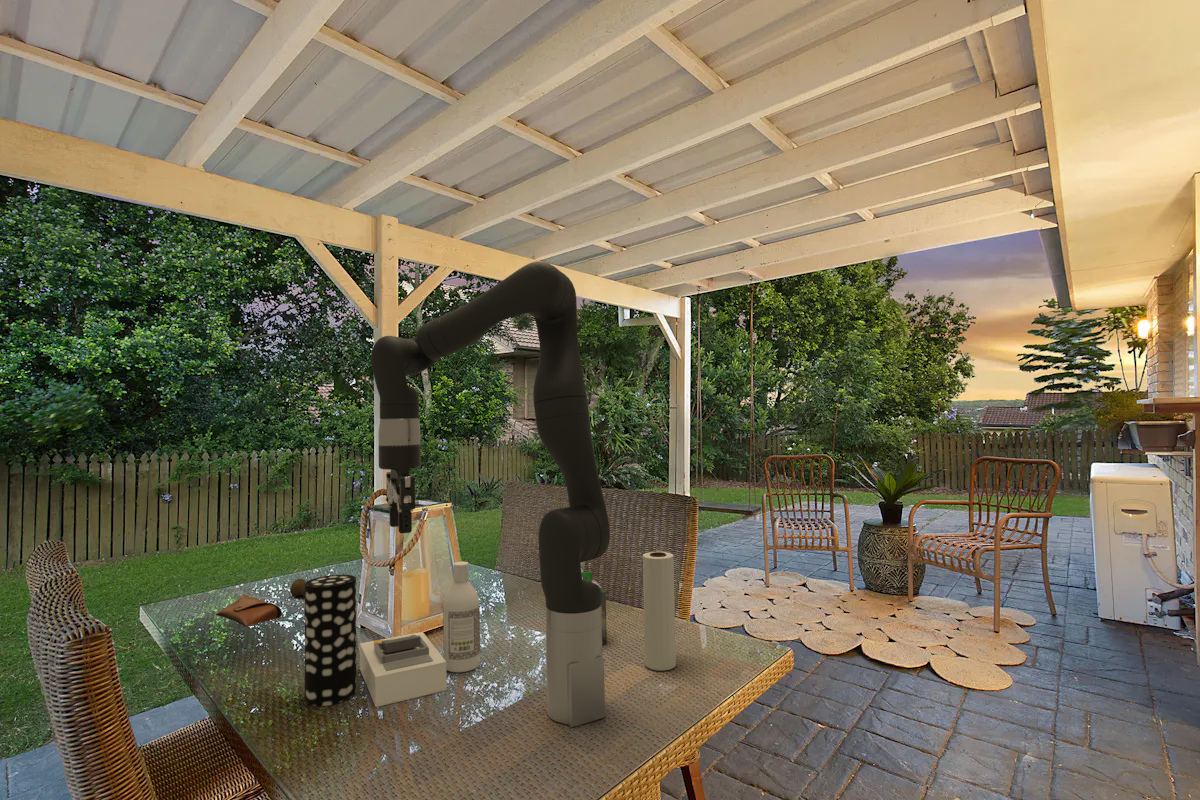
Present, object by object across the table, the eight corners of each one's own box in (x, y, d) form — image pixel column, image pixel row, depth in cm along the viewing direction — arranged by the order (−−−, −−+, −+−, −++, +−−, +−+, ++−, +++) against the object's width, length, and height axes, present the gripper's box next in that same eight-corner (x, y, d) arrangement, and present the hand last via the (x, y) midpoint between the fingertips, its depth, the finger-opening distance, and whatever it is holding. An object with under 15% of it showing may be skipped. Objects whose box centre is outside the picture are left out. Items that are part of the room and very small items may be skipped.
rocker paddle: (420, 646, 111) (420, 636, 112) (386, 652, 108) (386, 643, 109) (414, 643, 115) (414, 634, 116) (382, 649, 112) (381, 640, 113)
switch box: (446, 690, 107) (446, 654, 107) (375, 707, 101) (375, 669, 101) (422, 656, 123) (422, 625, 123) (360, 669, 117) (359, 637, 117)
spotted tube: (300, 709, 101) (300, 588, 101) (310, 688, 109) (309, 576, 109) (353, 702, 103) (353, 584, 104) (359, 682, 111) (358, 572, 112)
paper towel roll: (665, 674, 112) (663, 558, 113) (638, 666, 116) (636, 555, 116) (684, 661, 118) (682, 551, 118) (658, 654, 121) (656, 548, 122)
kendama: (311, 593, 173) (365, 598, 165) (282, 604, 164) (337, 609, 156) (310, 572, 173) (364, 576, 165) (281, 582, 164) (336, 586, 156)
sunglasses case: (211, 614, 153) (226, 588, 156) (237, 621, 158) (250, 596, 161) (247, 627, 143) (261, 598, 146) (272, 634, 148) (286, 607, 151)
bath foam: (486, 666, 117) (485, 563, 118) (453, 676, 113) (452, 569, 113) (470, 656, 122) (469, 557, 123) (437, 665, 118) (437, 562, 119)
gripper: (429, 443, 109) (429, 533, 108) (411, 441, 121) (412, 522, 121) (385, 444, 105) (386, 537, 105) (372, 442, 118) (372, 526, 117)
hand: (400, 529), depth 113 cm, fingers open, 8 cm apart
